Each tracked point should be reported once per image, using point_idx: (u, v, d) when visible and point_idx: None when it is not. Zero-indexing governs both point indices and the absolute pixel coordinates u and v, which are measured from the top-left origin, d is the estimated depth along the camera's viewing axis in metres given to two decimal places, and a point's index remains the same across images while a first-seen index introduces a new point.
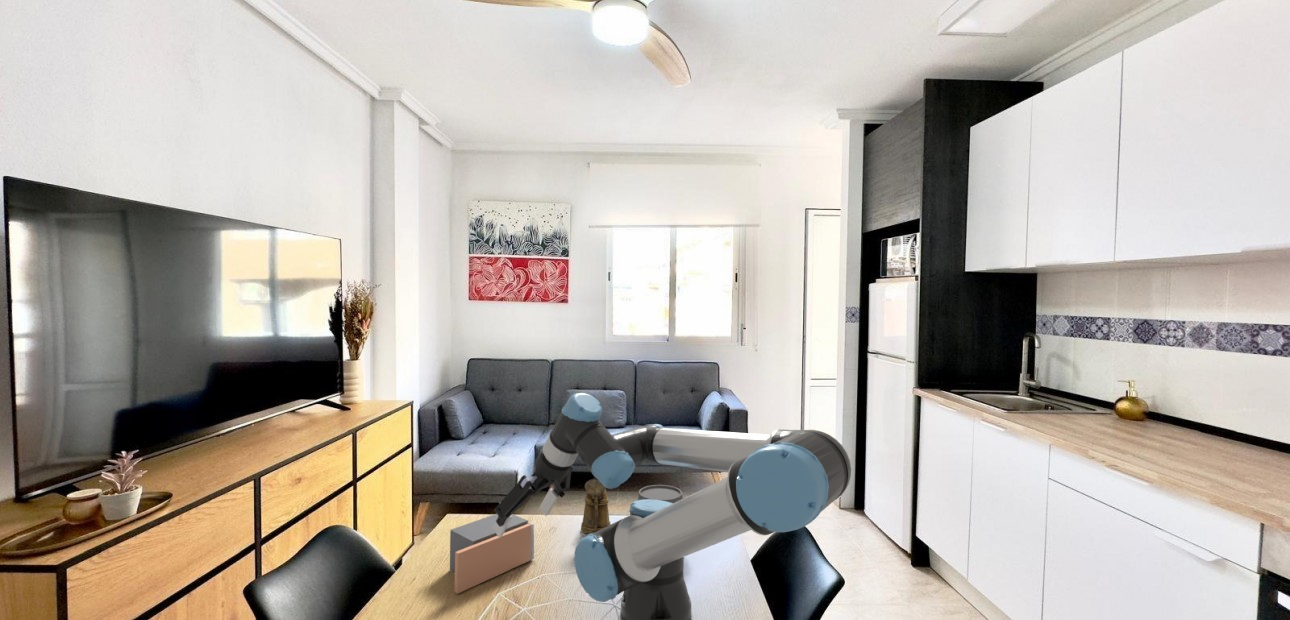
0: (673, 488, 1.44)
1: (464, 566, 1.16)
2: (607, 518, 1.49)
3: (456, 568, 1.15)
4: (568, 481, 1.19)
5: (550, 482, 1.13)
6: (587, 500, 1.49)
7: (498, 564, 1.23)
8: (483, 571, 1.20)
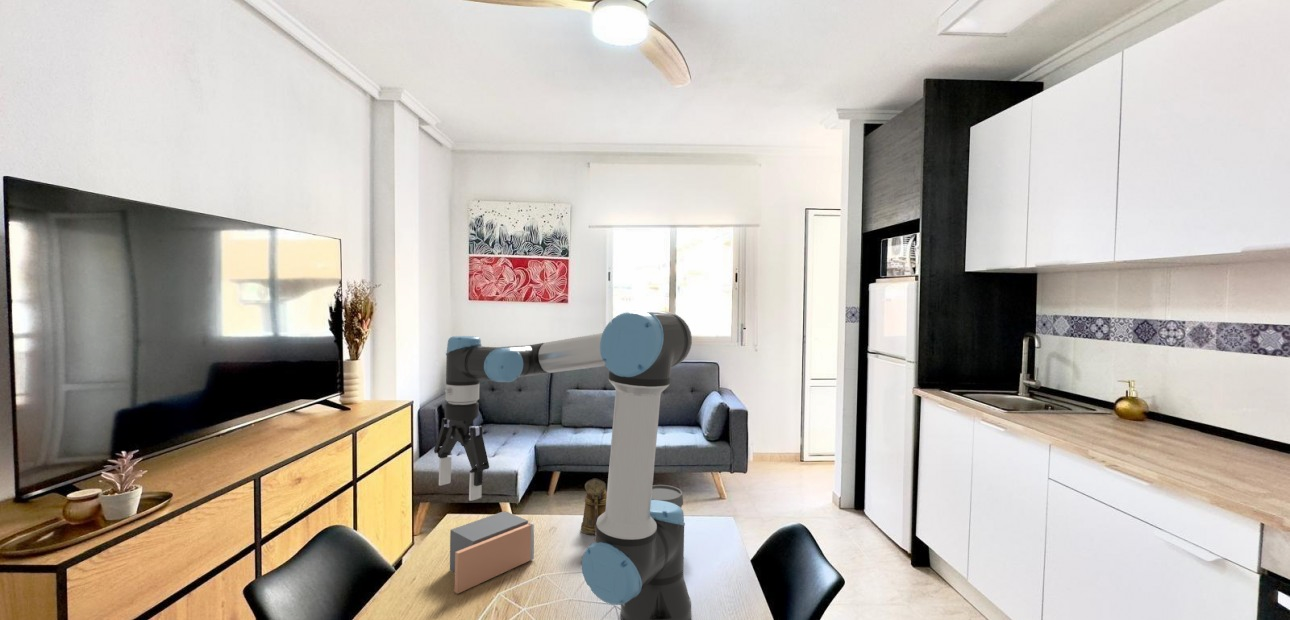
0: (673, 488, 1.44)
1: (464, 566, 1.16)
2: None
3: (456, 568, 1.15)
4: None
5: None
6: (587, 500, 1.49)
7: (498, 564, 1.23)
8: (483, 571, 1.20)
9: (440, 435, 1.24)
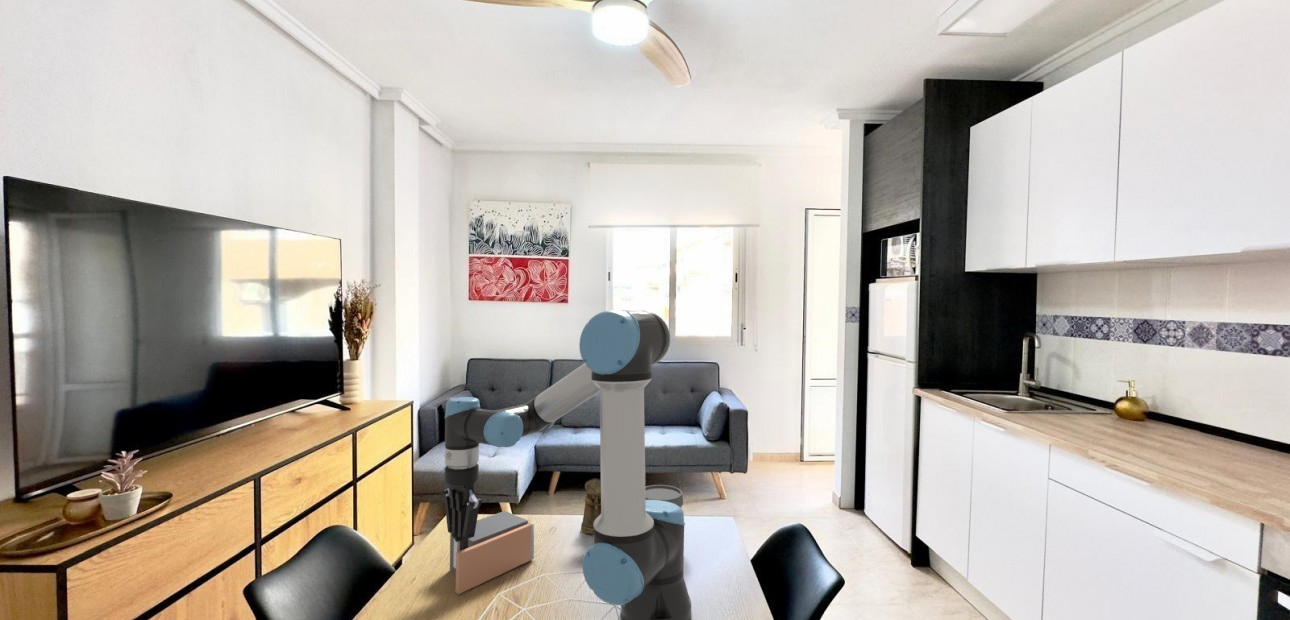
0: (673, 488, 1.44)
1: (465, 567, 1.16)
2: None
3: (457, 569, 1.15)
4: None
5: None
6: (587, 500, 1.49)
7: (499, 564, 1.23)
8: (484, 571, 1.20)
9: (447, 509, 1.20)
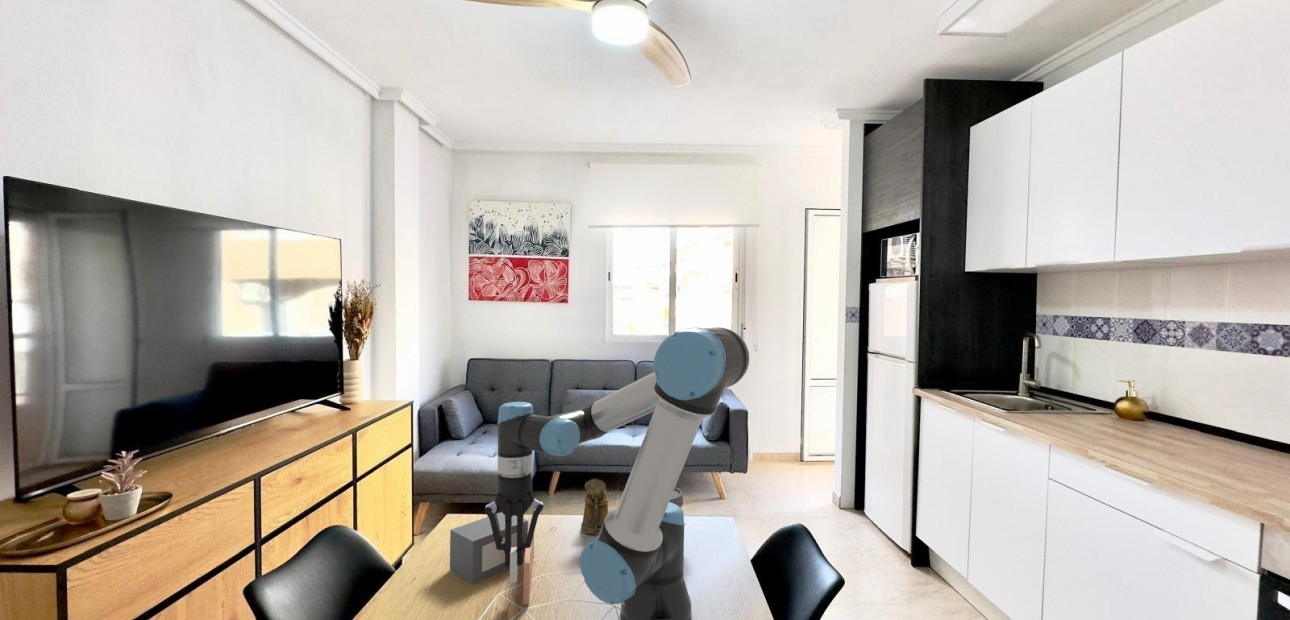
0: None
1: (529, 575, 1.12)
2: None
3: (526, 579, 1.11)
4: None
5: None
6: (587, 500, 1.49)
7: (531, 568, 1.21)
8: (530, 577, 1.17)
9: (494, 526, 1.11)
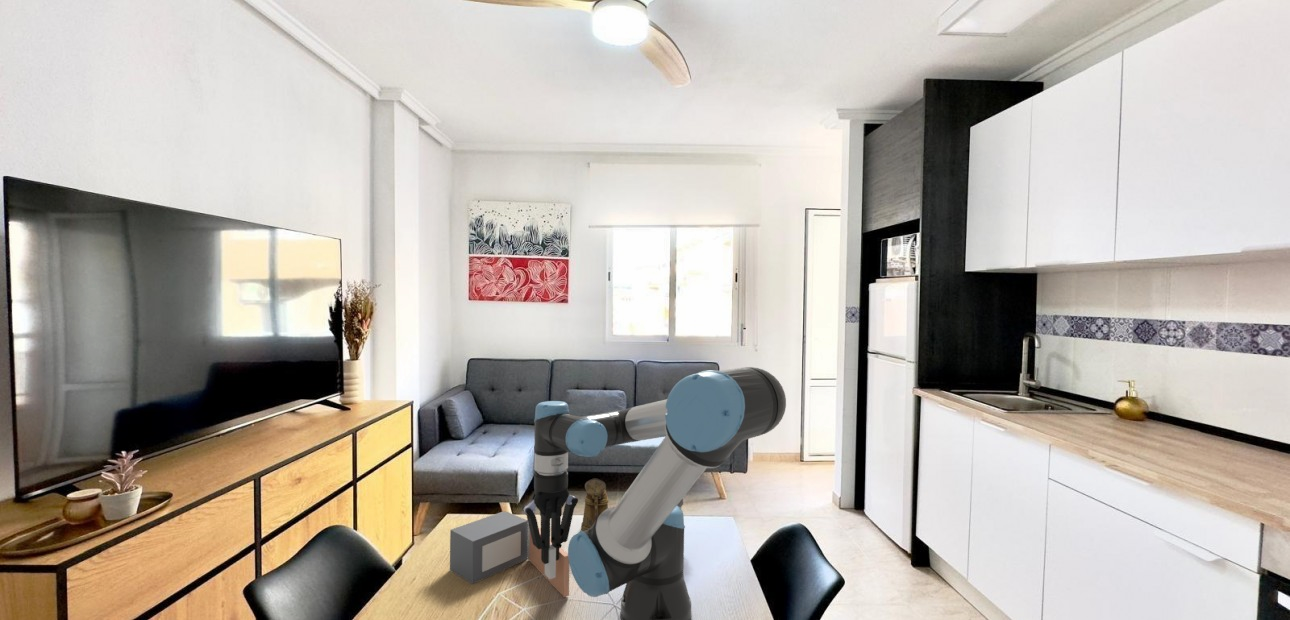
0: None
1: None
2: None
3: (567, 571, 1.14)
4: None
5: None
6: (587, 500, 1.49)
7: None
8: None
9: (535, 526, 1.11)
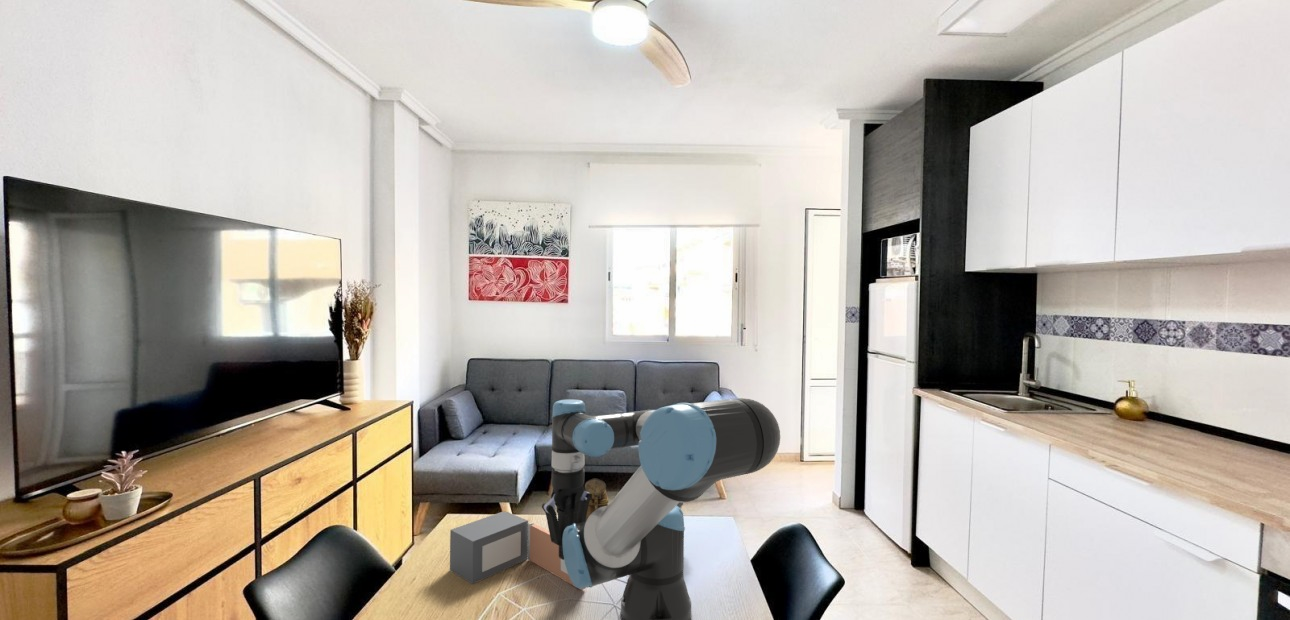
0: None
1: None
2: None
3: None
4: None
5: None
6: None
7: None
8: None
9: (556, 522, 1.13)
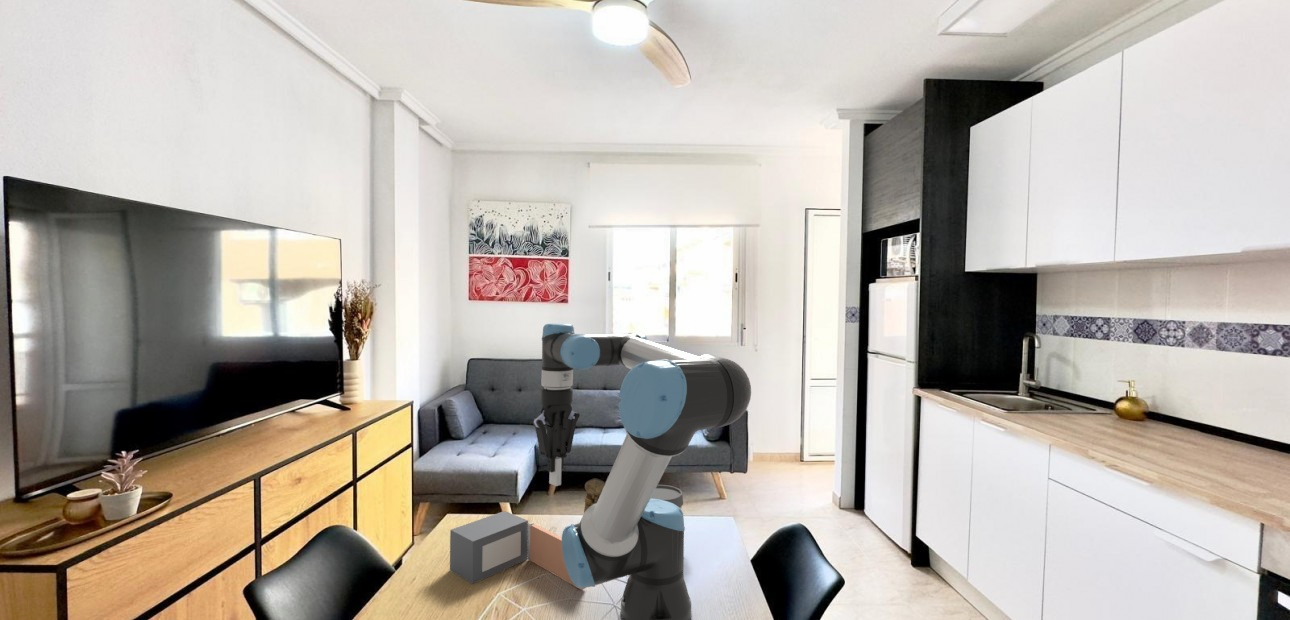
0: (673, 488, 1.44)
1: None
2: None
3: None
4: None
5: None
6: (587, 500, 1.49)
7: None
8: None
9: (545, 436, 1.19)
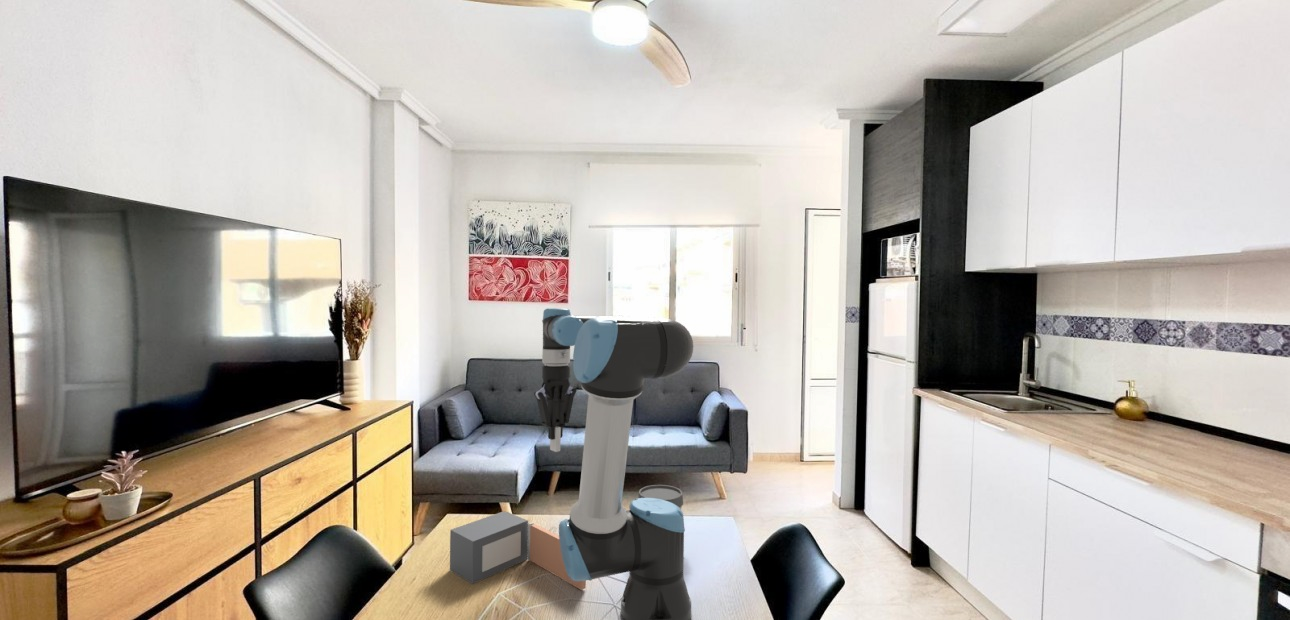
0: (673, 488, 1.44)
1: None
2: None
3: None
4: None
5: None
6: None
7: None
8: None
9: (546, 407, 1.36)
